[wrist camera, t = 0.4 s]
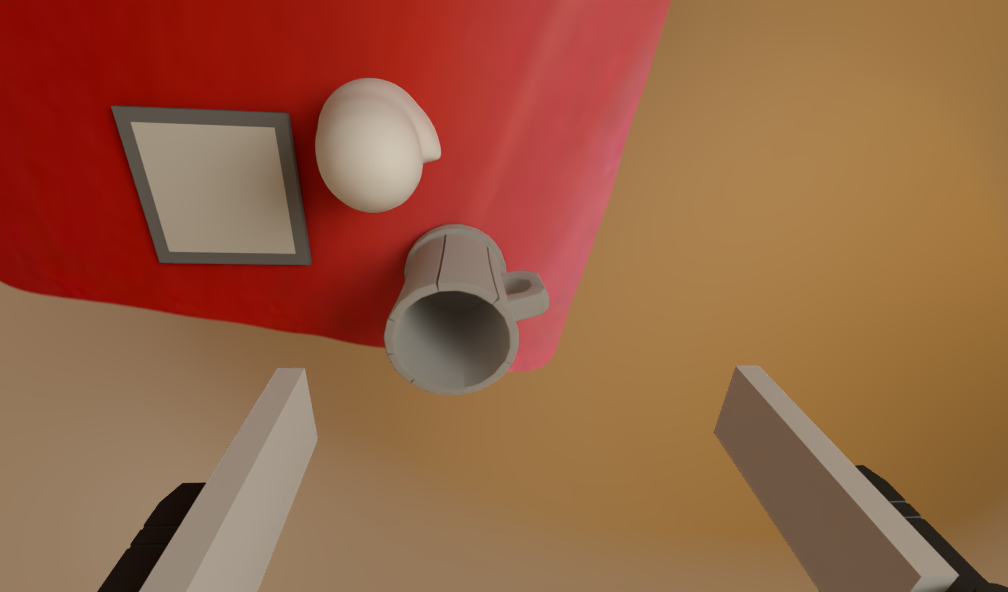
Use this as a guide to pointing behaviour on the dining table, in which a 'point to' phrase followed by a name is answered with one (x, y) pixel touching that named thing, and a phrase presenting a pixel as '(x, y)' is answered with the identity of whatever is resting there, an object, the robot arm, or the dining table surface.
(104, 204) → the dining table surface
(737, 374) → the robot arm
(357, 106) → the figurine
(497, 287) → the cup
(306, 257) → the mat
